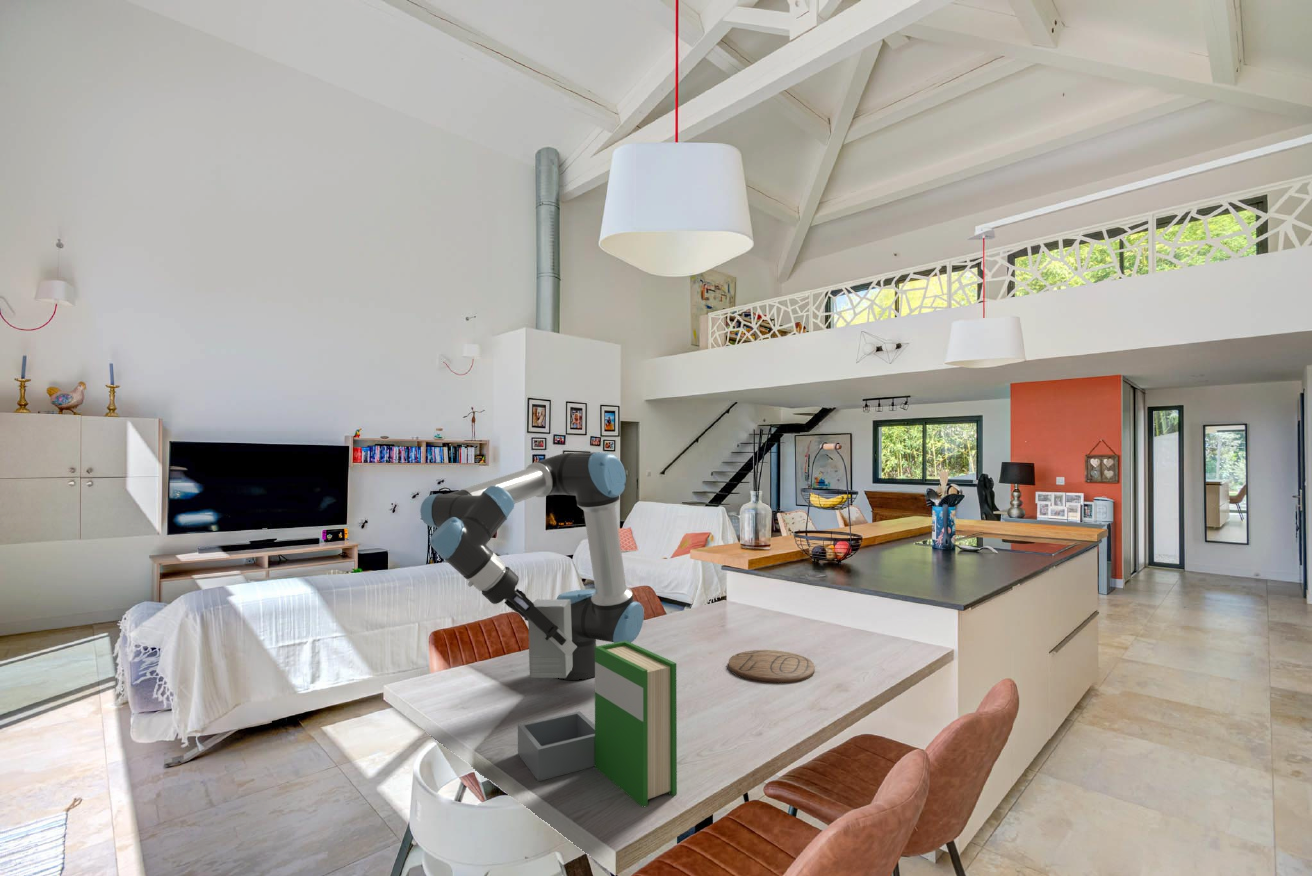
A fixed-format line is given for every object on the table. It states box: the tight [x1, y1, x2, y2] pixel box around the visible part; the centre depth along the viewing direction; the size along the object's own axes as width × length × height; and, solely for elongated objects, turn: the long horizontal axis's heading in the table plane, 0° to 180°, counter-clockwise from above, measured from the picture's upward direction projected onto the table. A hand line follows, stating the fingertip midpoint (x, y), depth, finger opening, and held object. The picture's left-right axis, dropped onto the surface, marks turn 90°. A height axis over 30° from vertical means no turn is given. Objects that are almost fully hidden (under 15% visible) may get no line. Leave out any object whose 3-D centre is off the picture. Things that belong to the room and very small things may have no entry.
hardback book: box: [594, 641, 678, 808], centre depth 121 cm, size 18×7×24 cm, turn 35°
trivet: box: [728, 649, 816, 685], centre depth 185 cm, size 25×25×2 cm
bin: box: [517, 711, 595, 782], centre depth 130 cm, size 13×14×6 cm
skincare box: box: [527, 598, 573, 679], centre depth 137 cm, size 8×7×16 cm
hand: (564, 645), depth 138 cm, fingers closed on skincare box, 9 cm apart
